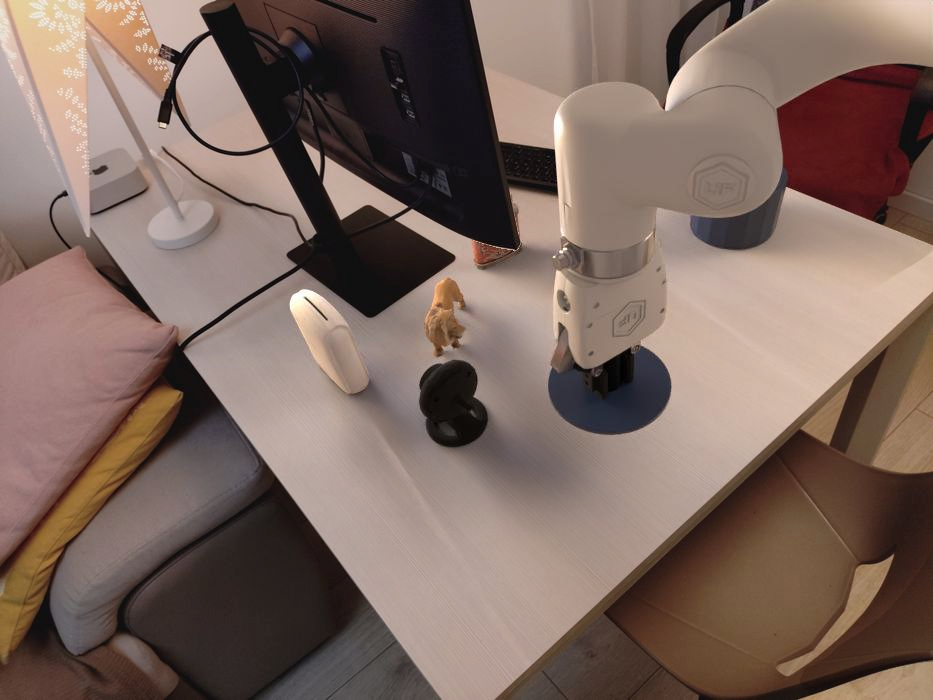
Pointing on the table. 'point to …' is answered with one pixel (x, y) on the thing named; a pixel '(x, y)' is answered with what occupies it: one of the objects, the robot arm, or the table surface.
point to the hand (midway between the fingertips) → (608, 381)
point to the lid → (613, 396)
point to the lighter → (494, 250)
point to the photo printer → (330, 341)
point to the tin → (742, 223)
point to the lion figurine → (444, 317)
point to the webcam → (452, 403)
